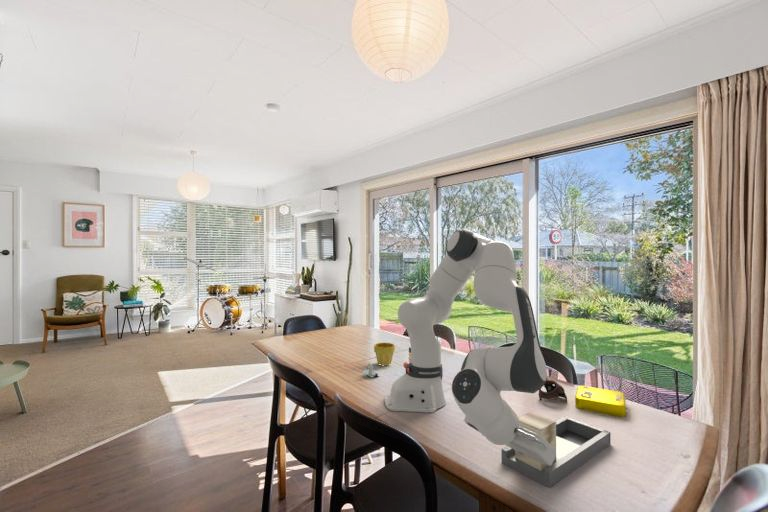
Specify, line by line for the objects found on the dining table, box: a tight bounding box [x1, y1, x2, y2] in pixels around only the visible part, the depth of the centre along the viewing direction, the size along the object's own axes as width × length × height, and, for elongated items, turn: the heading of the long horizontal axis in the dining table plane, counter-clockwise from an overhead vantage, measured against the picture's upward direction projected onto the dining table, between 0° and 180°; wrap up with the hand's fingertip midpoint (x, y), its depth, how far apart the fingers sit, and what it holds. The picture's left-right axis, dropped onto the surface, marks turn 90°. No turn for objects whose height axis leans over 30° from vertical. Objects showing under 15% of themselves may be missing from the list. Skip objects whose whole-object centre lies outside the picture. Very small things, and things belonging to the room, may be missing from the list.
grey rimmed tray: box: [500, 415, 612, 489], centre depth 98 cm, size 32×13×4 cm, turn 126°
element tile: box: [575, 385, 627, 418], centre depth 129 cm, size 15×15×5 cm
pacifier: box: [363, 362, 379, 377], centre depth 162 cm, size 7×6×6 cm
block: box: [515, 411, 556, 471], centre depth 91 cm, size 7×7×10 cm
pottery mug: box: [538, 378, 568, 402], centre depth 135 cm, size 12×10×8 cm
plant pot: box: [373, 342, 396, 366], centre depth 180 cm, size 10×10×10 cm
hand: (523, 451), depth 88 cm, fingers closed
